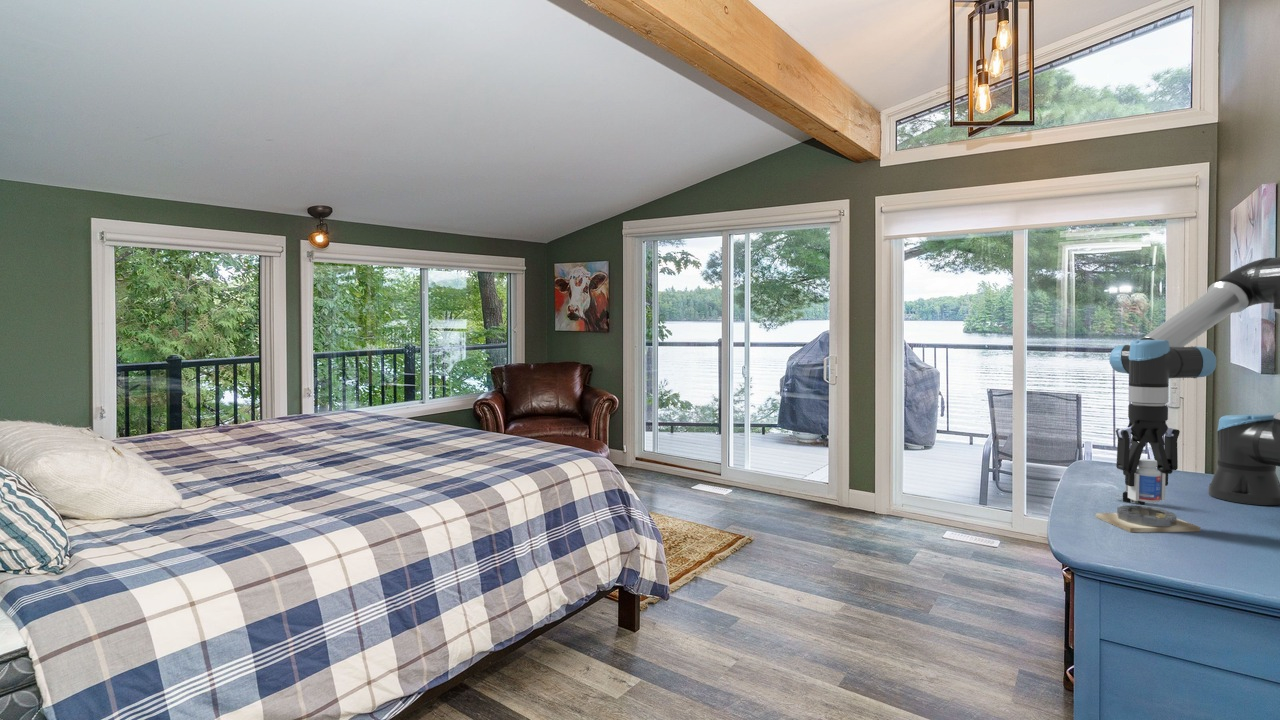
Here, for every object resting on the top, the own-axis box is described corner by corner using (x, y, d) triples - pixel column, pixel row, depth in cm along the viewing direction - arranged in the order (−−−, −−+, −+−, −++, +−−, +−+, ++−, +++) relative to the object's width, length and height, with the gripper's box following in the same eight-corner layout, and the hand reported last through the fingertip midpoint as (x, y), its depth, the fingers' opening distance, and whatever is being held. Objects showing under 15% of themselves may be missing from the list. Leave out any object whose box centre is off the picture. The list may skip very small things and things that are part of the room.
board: (1160, 516, 162) (1160, 512, 162) (1200, 531, 150) (1200, 527, 150) (1095, 517, 163) (1095, 513, 163) (1130, 532, 151) (1130, 528, 151)
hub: (1151, 513, 162) (1152, 502, 162) (1187, 526, 151) (1188, 514, 151) (1107, 513, 162) (1107, 502, 162) (1139, 527, 151) (1139, 515, 151)
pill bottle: (1161, 504, 152) (1162, 463, 152) (1133, 501, 155) (1134, 461, 155) (1158, 498, 157) (1159, 459, 157) (1130, 496, 160) (1131, 457, 159)
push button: (1114, 502, 176) (1114, 465, 175) (1117, 498, 179) (1118, 462, 179) (1144, 506, 171) (1145, 469, 170) (1147, 502, 175) (1148, 465, 174)
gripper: (1174, 401, 158) (1172, 494, 160) (1098, 402, 159) (1096, 495, 160) (1200, 405, 151) (1198, 502, 152) (1120, 406, 152) (1118, 503, 153)
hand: (1146, 498), depth 156 cm, fingers closed on pill bottle, 5 cm apart
